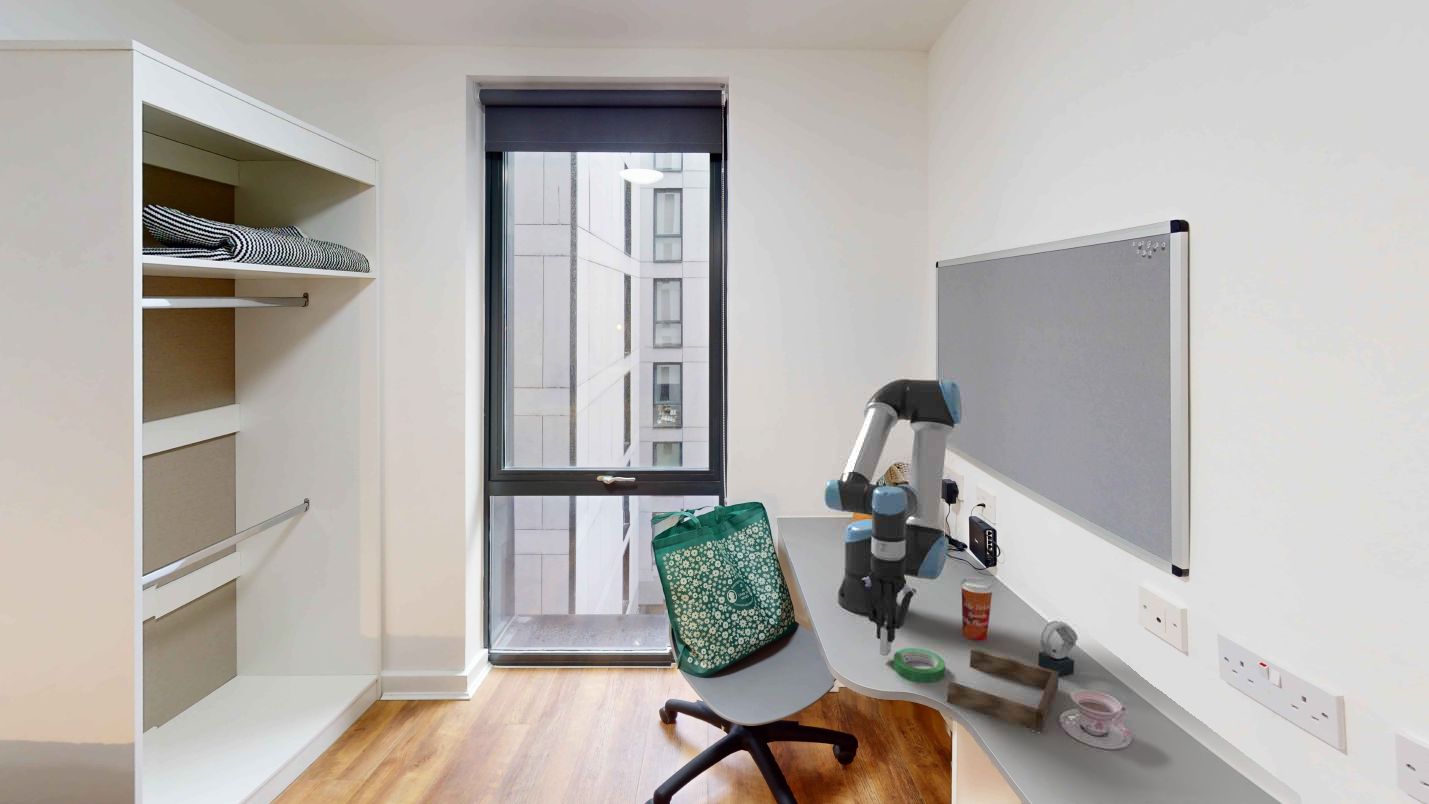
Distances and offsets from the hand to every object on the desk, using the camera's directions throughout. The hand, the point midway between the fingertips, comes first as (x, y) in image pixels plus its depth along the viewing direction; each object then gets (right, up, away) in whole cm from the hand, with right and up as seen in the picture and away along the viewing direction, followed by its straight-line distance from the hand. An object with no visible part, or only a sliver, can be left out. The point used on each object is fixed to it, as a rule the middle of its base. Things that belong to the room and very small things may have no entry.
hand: (885, 653), depth 149 cm
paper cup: (+25, 0, +11) cm, 28 cm away
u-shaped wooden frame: (+21, -3, -15) cm, 26 cm away
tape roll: (+6, -3, -4) cm, 8 cm away
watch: (+37, -2, -5) cm, 38 cm away
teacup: (+33, -5, -26) cm, 42 cm away
